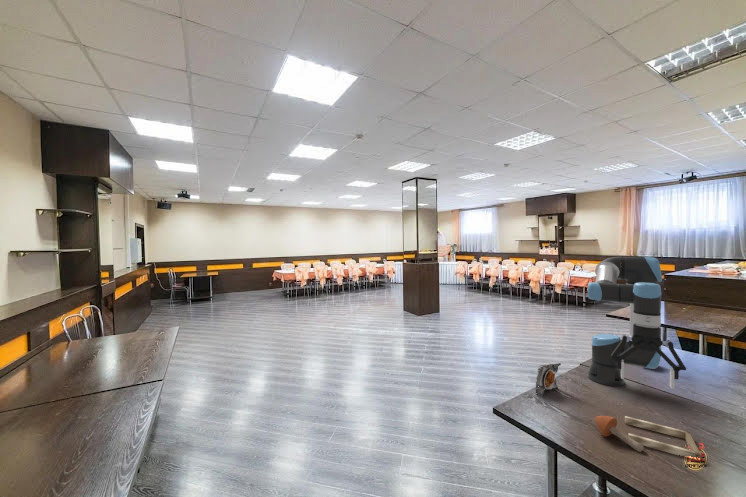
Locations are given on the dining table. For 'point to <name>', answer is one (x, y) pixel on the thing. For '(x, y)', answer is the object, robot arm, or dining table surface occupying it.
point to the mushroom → (615, 431)
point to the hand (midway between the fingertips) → (646, 382)
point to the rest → (660, 445)
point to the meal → (546, 377)
